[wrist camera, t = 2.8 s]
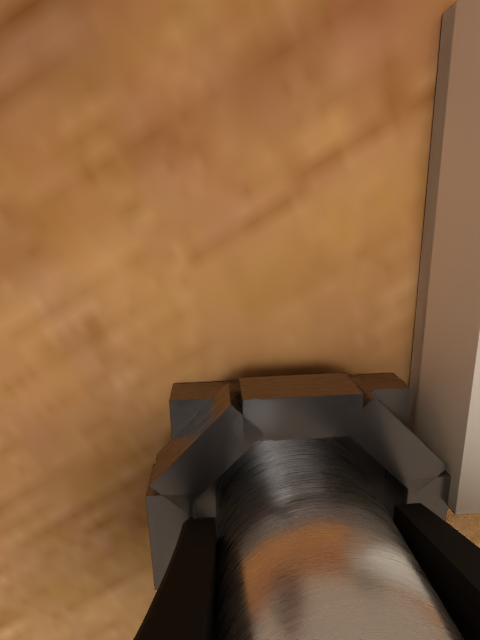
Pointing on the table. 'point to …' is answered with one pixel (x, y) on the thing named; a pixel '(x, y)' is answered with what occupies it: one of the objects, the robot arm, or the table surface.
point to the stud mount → (285, 424)
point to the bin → (452, 267)
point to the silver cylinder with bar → (315, 552)
